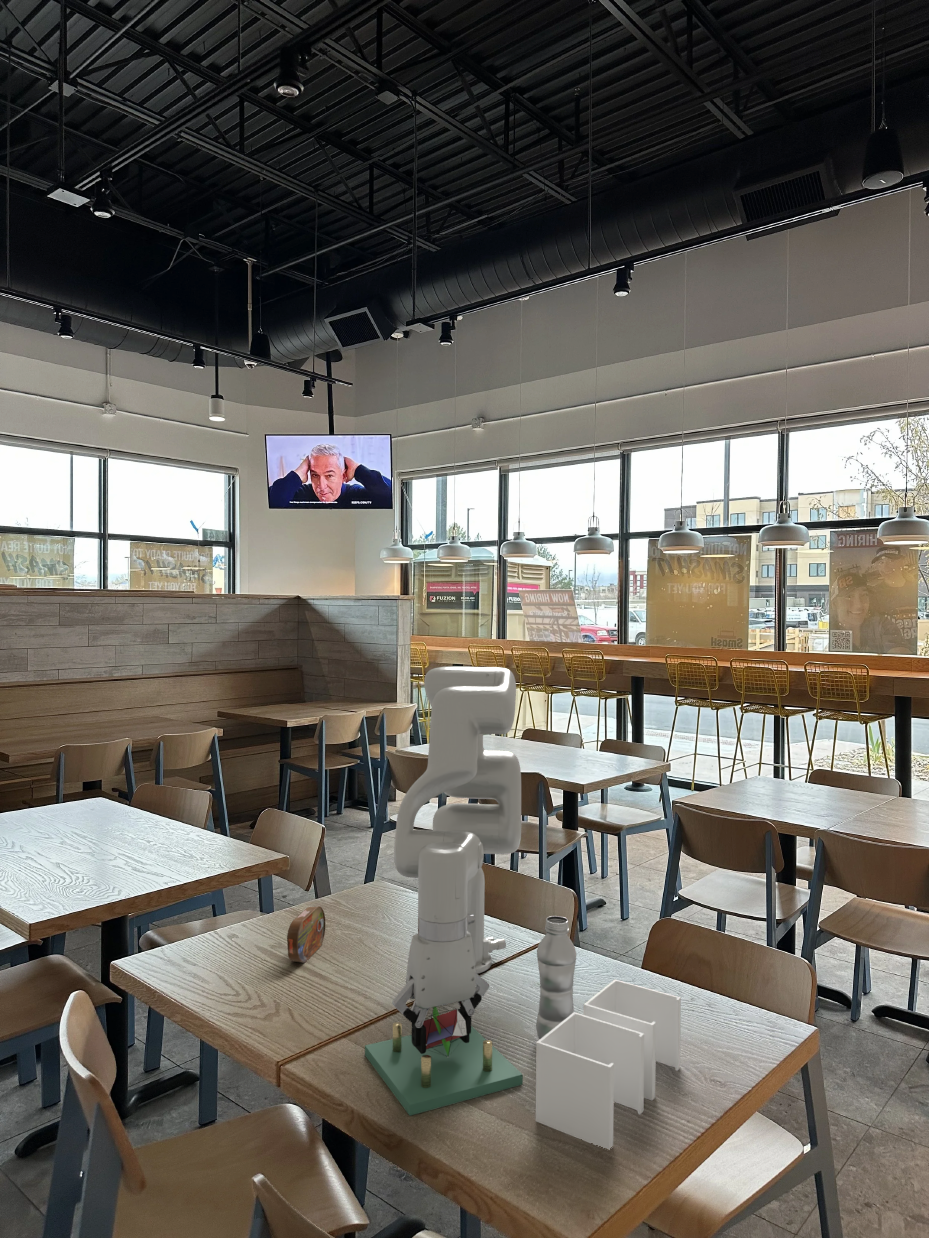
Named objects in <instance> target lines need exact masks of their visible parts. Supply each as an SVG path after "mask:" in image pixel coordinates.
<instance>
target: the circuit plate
mask: <svg viewBox="0 0 929 1238" xmlns="http://www.w3.org/2000/svg"><path fill="white" fill-rule="evenodd" d="M456 1039H458V1038H456ZM456 1039H453V1040H452V1041H454V1040H456ZM485 1040H487V1039H486V1038H485V1037H484V1036H483V1035H482V1034H481V1033H480V1032H479V1031H478V1030H476V1028H475V1027H474V1026H473V1025H471V1033H470V1034H469V1043H465V1042H463V1041H462V1040H461V1039H458V1040H456V1041H454V1042H452V1041H451V1042H452V1043H450V1044H451V1046H450V1051H449V1057H448V1056H447V1053H446V1050H445V1048H444V1045H442V1044H443V1043H442V1044H439V1045H441V1046H438V1045H436V1046H437V1047H435V1046H433V1048H430V1049H427V1050H426V1052H425V1053H424V1054H421V1053H420V1052H419V1051H418V1050H417V1049H416V1047H414V1046H413V1044H412V1034H409V1035H404V1036H403V1035H402V1050H401V1051H400V1052H393V1038H391V1039H386V1040H382V1041H378V1042H377V1041H376V1042H373V1043H369V1044H365V1045H364V1056H365V1057H366V1059H367V1060H368V1062H369V1063H370V1064H371V1065H372V1067H373V1068H374V1070H375V1071H376V1072H377V1074H378V1075H379V1076H380V1078H381V1079H382V1081H383V1082H384V1083H385V1084H386V1085H387V1088H388V1089H389V1090H390V1091H391V1093H392V1094H393V1095H394V1096H395V1098H396V1100H397V1101H398V1102H399V1103H400V1105H401V1106H402V1107H403V1109H404V1110H405V1112H406V1113H407V1114H408V1116H414V1115H418V1114H422V1113H425V1112H428V1111H432V1110H436V1109H440V1108H444V1107H446V1106H450V1105H453V1104H457V1103H460V1102H464V1101H468V1100H472V1099H476V1098H479V1097H482V1096H485V1095H486V1096H487V1095H490V1094H493V1093H497V1092H500V1091H504V1090H508V1089H511V1088H515V1087H518V1086H522V1085H524V1084H523V1083H524V1082H523V1081H524V1080H523V1078H524V1077H523V1073H522V1072H521V1071H520V1070H519V1069H518V1068H517V1067H516V1066H515V1065H513V1064H512V1062H511V1061H509V1060H508V1059H507V1058H506V1057H505V1056H504V1055H503V1054H502V1053H501V1052H500V1051H499V1050H498V1049H497V1048H496V1047H494V1045H492V1071H490V1072H486V1071H484V1070H483V1041H485ZM458 1044H459V1045H458ZM434 1049H435V1050H434ZM429 1050H430V1051H429ZM436 1050H437V1051H436ZM453 1050H454V1051H453ZM432 1051H433V1052H432ZM438 1051H439V1052H438ZM435 1052H436V1053H435ZM443 1054H444V1056H443ZM423 1055H429V1056H431V1086H430V1087H429V1088H423V1087H422V1086H421V1057H422V1056H423ZM445 1055H446V1056H447V1057H446V1056H445Z"/></svg>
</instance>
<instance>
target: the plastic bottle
mask: <svg viewBox="0 0 929 1238" xmlns="http://www.w3.org/2000/svg"><path fill="white" fill-rule="evenodd" d="M544 931H545V932H546V933H545V935H544V936H543V937H542V939H541V940H540V942H539V943H538V945H537V949H536V958H537V965H538V972H539V974H538V975H539V988H540V989H539V1001H538V1002H539V1003H538V1004H539V1005H538V1012H537V1016H536V1017H537V1018H536V1025H535V1028H536V1034H537V1038H538V1041H539V1040H540V1039H541V1038H542V1037H544V1036H545V1035H546V1034H547V1033H549V1032H550V1031H551V1030H552V1029H554V1028H555V1027H556V1026H557V1025H559V1024H560V1023H561V1022H562V1021H564V1020H565V1019H566V1018H567V1017H569V1016H570V1015H571V1014H572V1013H574V1012H575V1008H574V995H573V993H574V979H575V977H574V975H575V970H576V962H577V951H576V948H575V945H574V943H573V941H572V940H571V938H570V937H569V936H568V933H569V931H570V927H569V919H568V918H567V917H564V916H559V915H551V916H547V917H546V918H545V926H544Z"/></svg>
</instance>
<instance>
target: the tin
mask: <svg viewBox="0 0 929 1238" xmlns="http://www.w3.org/2000/svg"><path fill="white" fill-rule="evenodd" d="M325 934H326V915H325V911H324V908H323V907H322V906H319V905H318V906H308V907H306V908H305V909H304V910H303V911H302V912H301V913H300V914H298V915H297V917H295V918H294V919H293V920H292V922H290V925H289V927H288V930H287V933H286V935H287V936H286V941H287V942H286V943H287V946H286V947H287V956H288V958H289V960H290V961H291V962H294V963H303V964H304V963H306V961H307V960H308V961H309V960H310V958H312V956H313V955H314V954H315V953H316V952H317V951H318V950H319V949H320V948H321V947H322V945H323V943H324V939H325ZM308 961H307V962H308Z"/></svg>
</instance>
